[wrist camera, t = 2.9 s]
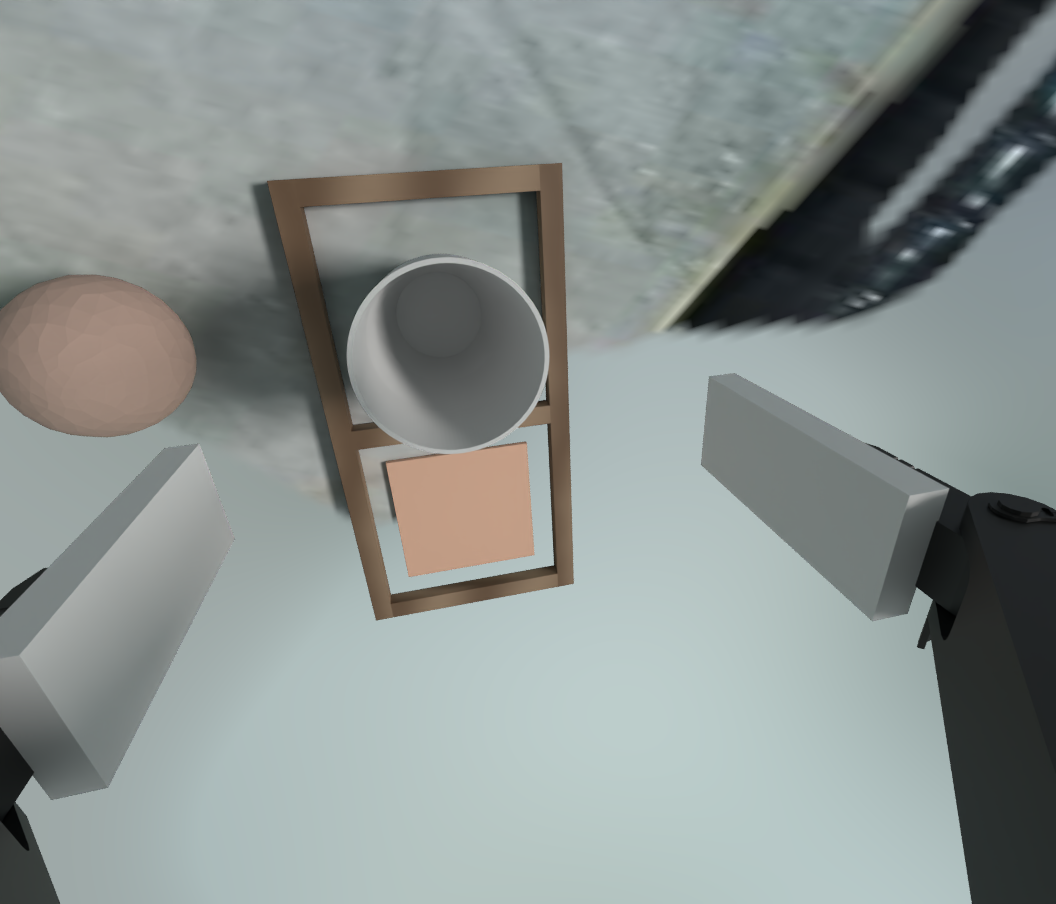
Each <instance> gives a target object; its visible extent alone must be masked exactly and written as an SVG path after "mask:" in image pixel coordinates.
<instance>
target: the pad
mask: <svg viewBox="0 0 1056 904" xmlns="http://www.w3.org/2000/svg"><path fill="white" fill-rule="evenodd" d="M386 466H387V471H388V476H389V481H390V486H391V491H392V496H393V501H394V506H395V511H396V516H397V521H398V526H399V531H400V535H401V540H402V545H403V550H404V555H405V560H406V565H407V570H408V575H409V577H411V576H418V575H423V574H429V573H435V572H440V571H446V570H452V569H457V568H463V567H469V566H474V565H480V564H486V563H492V562H497V561H503V560H509V559H515V558H520V557H526V556H532V555H534V543H533V528H532V514H531V499H530V484H529V470H528V455H527V443H526V442H519V443H512V444H505V445H499V446H492V447H485V448H482V449H479V450H475V451H471V452H466V453H459V454H434V455H427V456H420V457H413V458H406V459H399V460H392V461H386Z"/></svg>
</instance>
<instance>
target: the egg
mask: <svg viewBox="0 0 1056 904" xmlns="http://www.w3.org/2000/svg"><path fill="white" fill-rule="evenodd" d="M195 374H196V354H195V349H194V345H193V341H192V338H191V336H190V334H189V331H188V329H187V328H186V327H185V325H184V324H183V322H182V321H181V319H180V318H179V317H178V315H177V314H176V313H175V312H174V311H173V310H172V309H171V308H169V307H168V306H167V305H166V304H165V303H164V302H163V301H162V300H161V299H159V298H158V297H156V296H155V295H153V294H151V293H150V292H148V291H147V290H145V289H143V288H142V287H139V286H136V285H134V284H131V283H128V282H126V281H123V280H120V279H117V278H112V277H106V276H100V275H67V276H63V277H59V278H55V279H52V280H48V281H45V282H41V283H38V284H36V285H34V286H32V287H30V288H28V289H27V290H25V291H23V292H21V293H19V294H18V295H17V296H16V297H14V298H13V299H12V300H11V301H10V302H9V303H8V304H7V305H6V306H5V307H3V308H2V309H1V311H0V392H1V393H2V395H3V396H4V397H5V398H6V399H7V401H8V402H9V403H10V404H11V405H12V406H13V407H14V408H16V409H17V410H18V411H19V412H21V413H22V414H23V415H24V416H26V417H28V418H30V419H32V420H33V421H35V422H37V423H39V424H40V425H42V426H44V427H47V428H49V429H52V430H55V431H59V432H63V433H66V434H70V435H79V436H92V437H114V436H120V435H127V434H131V433H134V432H137V431H140V430H143V429H145V428H148V427H150V426H152V425H155V424H157V423H159V422H160V421H161V420H163V419H164V418H166V417H167V416H168V415H170V414H171V413H173V412H174V410H175V409H176V408H177V407H178V406H179V405H180V404H181V403H182V402H183V401H184V399H185V398H186V396H187V394H188V393H189V391H190V389H191V388H192V384H193V381H194V377H195Z"/></svg>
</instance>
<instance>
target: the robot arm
mask: <svg viewBox="0 0 1056 904" xmlns="http://www.w3.org/2000/svg"><path fill="white" fill-rule="evenodd" d="M701 465H702V466H703V467H704V468H705V469H706V470H708V472H709V473H711V474H712V475H713V476H714V477H715V478H716V479H717V480H718V481H719V482H720V483H721V484H723V485H724V486H725V487H726V488H727V489H728V490H729V491H730V492H731V493H732V494H734V495H735V496H736V497H737V498H738V499H739V500H740V501H741V502H742V503H743V504H744V505H746V506H747V507H748V508H749V509H750V510H751V511H752V512H754V514H755V515H757V516H758V517H759V518H760V519H761V520H762V521H763V522H764V523H765V524H766V525H767V526H769V527H770V528H771V529H772V530H773V531H774V532H775V533H776V534H777V535H778V536H780V537H781V538H782V539H783V540H784V541H785V542H786V543H787V544H788V545H789V546H791V547H792V548H793V549H794V550H795V551H796V552H797V553H798V554H799V555H800V556H801V557H802V558H804V559H805V560H806V561H807V562H808V563H809V564H810V565H811V566H812V567H813V568H815V569H816V570H817V571H818V572H819V573H820V574H821V575H822V576H823V577H824V578H826V579H827V580H828V581H829V582H830V583H831V584H832V585H833V586H834V587H836V589H838V590H839V591H840V592H841V593H842V594H843V595H844V596H845V597H846V598H847V599H849V600H850V601H851V602H852V603H853V604H854V605H855V606H856V607H857V608H858V609H859V610H861V611H862V612H863V613H864V614H865V615H866V616H867V617H868V618H869V619H870V620H872V621H876V620H880V619H885V618H890V617H894V616H899V615H903V614H908V611H909V608H910V605H911V602H912V599H913V596H914V593H915V590H916V587H917V588H918V589H920V590H921V591H923V592H924V593H925V594H926V595H928V596H929V597H930V598H931V599H933V601H932V604H931V607H930V610H929V612H928V615H927V618H926V621H925V624H924V627H923V629H922V632H921V635H920V638H919V641H918V645H917V647H918V648H921V649H924V648H925V645H926V642H927V641H930V640H931V641H932V648H933V654H934V660H935V667H936V673H937V680H938V687H939V693H940V699H941V706H942V712H943V718H944V725H945V732H946V738H947V745H948V751H949V758H950V764H951V771H952V777H953V784H954V790H955V796H956V803H957V810H958V816H959V823H960V828H961V836H962V842H963V848H964V855H965V862H966V867H967V875H968V881H969V887H970V894H971V900H972V904H1056V510H1054V509H1053V508H1050V507H1049V506H1047V505H1045V504H1042V503H1040V502H1037V501H1034V500H1031V499H1028V498H1025V497H1020V496H1016V495H1011V494H1005V493H993V492H990V493H979V494H976V495H974V496H972V497H971V496H969V495H967V494H966V493H964V492H962V491H960V490H958V489H956V488H954V487H952V486H950V485H948V484H947V483H944V482H943V481H941V480H939V479H937V478H935V477H933V476H932V475H930V474H928V473H926V472H924V471H922V470H920V469H915V468H914V466H913V465H911V464H909V463H907V462H905V461H903V460H898V457H896V456H894V455H892V454H890V453H888V452H886V451H884V450H883V449H881V448H879V447H876V446H873V445H870V444H867V443H864V442H862V441H860V440H858V439H856V438H854V437H852V436H850V435H849V434H847V433H845V432H843V431H841V430H839V429H837V428H836V427H834V426H832V425H830V424H828V423H826V422H824V421H822V420H821V419H819V418H817V417H815V416H813V415H811V414H809V413H808V412H806V411H804V410H802V409H800V408H798V407H797V406H795V405H793V404H791V403H789V402H787V401H785V400H784V399H782V398H780V397H778V396H776V395H774V394H772V393H771V392H769V391H767V390H765V389H763V388H761V387H759V386H757V385H756V384H754V383H752V382H750V381H748V380H746V379H744V378H742V377H741V376H739V375H737V374H735V373H733V374H725V375H717V376H710V377H709V383H708V394H707V405H706V416H705V426H704V438H703V448H702V460H701ZM234 539H235V538H234V535H233V533H232V530H231V527H230V524H229V522H228V519H227V516H226V514H225V511H224V508H223V506H222V503H221V500H220V498H219V495H218V492H217V490H216V487H215V484H214V481H213V479H212V476H211V473H210V471H209V468H208V465H207V463H206V460H205V457H204V455H203V452H202V449H201V447H200V444H192V445H184V446H177V447H169V448H164V449H163V450H162V451H161V452H160V453H159V454H158V456H157V457H156V458H155V459H154V460H153V461H152V462H151V463H150V464H149V465H148V466H147V467H146V468H145V469H144V470H143V471H142V472H141V473H140V474H139V475H138V476H137V477H136V478H135V479H134V480H133V481H132V482H131V483H130V484H129V485H128V486H127V487H126V488H125V489H124V490H123V491H122V493H120V494H119V496H118V497H117V498H116V499H115V500H114V501H113V502H112V503H111V504H110V505H109V506H108V507H107V508H106V509H105V510H104V511H103V512H102V513H101V514H100V515H99V516H98V517H97V518H96V519H95V520H94V521H93V522H92V523H91V524H90V525H89V526H88V527H87V529H85V530H84V531H83V532H82V533H81V534H80V536H79V537H78V538H77V539H76V540H75V541H74V542H73V543H72V544H71V545H70V546H69V547H68V548H67V549H66V550H65V551H64V552H63V553H62V554H61V555H60V556H59V557H58V558H57V559H56V560H55V561H54V562H53V563H52V564H51V565H50V566H49V567H48V568H43V569H42V570H40V571H39V572H37V573H36V574H34V575H33V576H31V577H29V578H28V579H27V580H25V581H23V582H22V583H20V584H19V585H17V586H16V587H14V588H13V589H11V591H10V592H9V593H7V595H5V596H4V597H3V598H2V599H1V600H0V904H60V902H59V899H58V897H57V894H56V891H55V889H54V886H53V884H52V881H51V878H50V876H49V873H48V871H47V868H46V865H45V863H44V860H43V858H42V855H41V852H40V850H39V847H38V845H37V842H36V839H35V837H34V834H33V832H32V829H31V827H30V824H29V821H28V819H27V816H26V815H25V814H24V812H23V811H22V810H21V809H20V807H19V806H18V805H17V804H16V802H15V801H16V799H17V798H18V796H19V795H20V793H21V792H22V790H23V789H24V787H25V786H26V784H27V783H28V781H29V779H30V778H31V776H32V775H33V776H34V778H35V779H36V780H37V782H38V783H39V784H40V786H41V787H42V788H43V790H44V791H45V792H46V794H47V795H48V796H49V798H50V799H51V800H53V799H59V798H63V797H68V796H72V795H77V794H82V793H86V792H91V791H95V790H100V789H105V788H108V787H109V785H110V783H111V781H112V779H113V777H114V775H115V773H116V771H117V769H118V767H119V765H120V763H121V761H122V759H123V757H124V755H125V753H126V751H127V749H128V747H129V745H130V743H131V741H132V739H133V738H134V736H135V734H136V731H137V729H138V728H139V726H140V724H141V722H142V720H143V718H144V716H145V714H146V712H147V710H148V708H149V706H150V704H151V702H152V700H153V698H154V696H155V694H156V692H157V690H158V688H159V686H160V684H161V683H162V681H163V679H164V677H165V674H166V672H167V671H168V669H169V667H170V665H171V663H172V661H173V659H174V657H175V655H176V653H177V651H178V649H179V647H180V645H181V643H182V641H183V639H184V637H185V635H186V633H187V631H188V630H189V628H190V625H191V624H192V622H193V619H194V617H195V616H196V614H197V612H198V610H199V608H200V606H201V604H202V602H203V600H204V598H205V596H206V594H207V592H208V590H209V588H210V586H211V584H212V582H213V580H214V578H215V577H216V574H217V573H218V570H219V569H220V567H221V565H222V563H223V561H224V559H225V557H226V555H227V553H228V551H229V549H230V547H231V545H232V543H233V541H234Z"/></svg>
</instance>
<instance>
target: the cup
mask: <svg viewBox="0 0 1056 904" xmlns="http://www.w3.org/2000/svg"><path fill="white" fill-rule="evenodd" d="M347 367H348V373H349V378H350V382H351V385H352V388H353V390H354V393H355V395H356V397H357V399H358V401H359V403H360V405H361V406H362V408H363V409H364V411H365V412H366V413H367V415H368V416H369V417H370V418H371V420H372V421H373V422H374V423H375V424H376V425H377V426H378V427H379V428H381V429H382V430H383V431H384V432H385V433H387V434H388V435H389V436H391V437H392V438H394V439H396V440H397V441H399V442H401V443H403V444H405V445H408V446H410V447H413V448H415V449H418V450H422V451H426V452H431V453H439V454H459V453H466V452H471V451H475V450H479V449H482V448H485V447H487V446H490V445H492V444H494V443H496V442H498V441H500V440H502V439H503V438H505V437H506V436H508V435H509V434H511V433H512V432H513V431H514V430H515V429H516V428H518V427H519V426H520V425H521V424H522V423H523V422H524V421H525V420H526V418H527V417H528V416H529V415H530V413H531V412H532V411H533V409H534V408H535V406H536V404H537V402H538V401H539V399H540V396H541V394H542V392H543V389H544V386H545V383H546V379H547V375H548V369H549V344H548V338H547V333H546V330H545V326H544V323H543V321H542V318H541V316H540V314H539V312H538V310H537V308H536V307H535V305H534V303H533V302H532V300H531V299H530V298H529V296H528V295H527V294H526V293H525V292H524V291H523V289H522V288H521V287H520V286H519V285H517V284H516V283H515V282H514V281H513V280H512V279H510V278H509V277H508V276H506V275H505V274H503V273H502V272H500V271H498V270H496V269H494V268H492V267H490V266H488V265H485V264H483V263H480V262H477V261H474V260H471V259H469V258H465V257H462V256H457V255H451V254H432V255H426V256H421V257H418V258H415V259H412V260H410V261H407V262H405V263H403V264H401V265H400V266H398V267H397V268H395V269H394V270H392V271H391V272H390V273H389V274H388V275H386V276H385V277H384V278H383V279H382V280H381V281H380V282H379V283H378V284H377V285H376V286H375V287H374V288H373V290H372V291H371V292H370V293H369V294H368V295H367V297H366V298H365V299H364V301H363V302H362V304H361V306H360V307H359V309H358V311H357V313H356V315H355V317H354V320H353V322H352V325H351V328H350V332H349V336H348V343H347Z"/></svg>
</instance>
